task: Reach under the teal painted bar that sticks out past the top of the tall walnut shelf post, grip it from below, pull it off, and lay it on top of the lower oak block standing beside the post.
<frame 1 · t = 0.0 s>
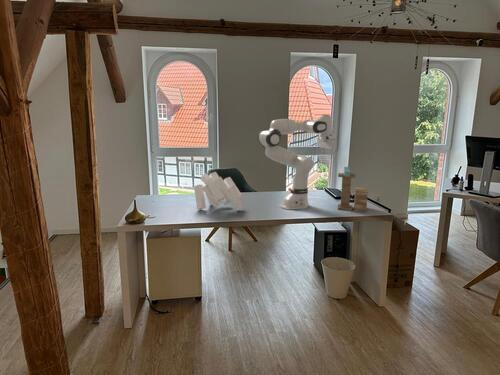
hand: (327, 154, 270), 39 cm above the table, tool pointing down, fingers open, 8 cm apart
walnut shelf post: (344, 208, 263), on the table
oak block: (359, 209, 261), on the table
pile of blocks: (218, 208, 264), on the table
teal bar: (346, 173, 259), point 26 cm above the table, touching walnut shelf post
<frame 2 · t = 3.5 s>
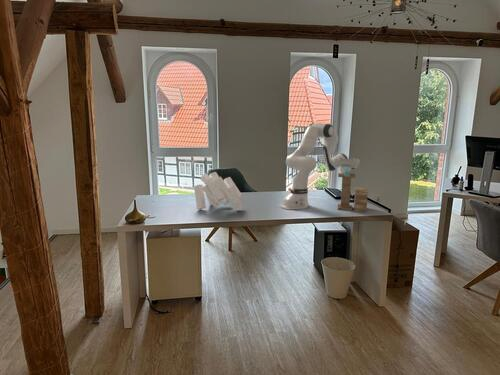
hand: (346, 158, 275), 35 cm above the table, tool pointing upward, fingers open, 8 cm apart
nothing on the table moved.
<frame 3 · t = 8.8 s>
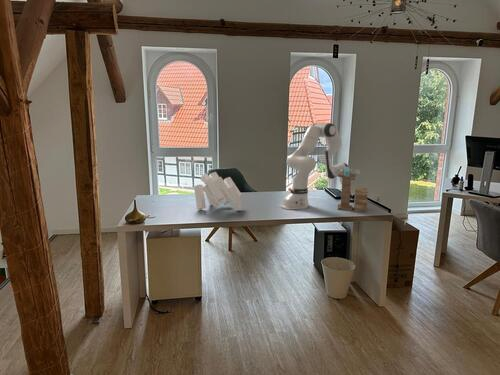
hand: (346, 169, 266), 28 cm above the table, tool pointing upward, fingers closed on teal bar, 3 cm apart
teal bar: (346, 173, 259), point 26 cm above the table, touching gripper, walnut shelf post
everything else where it was.
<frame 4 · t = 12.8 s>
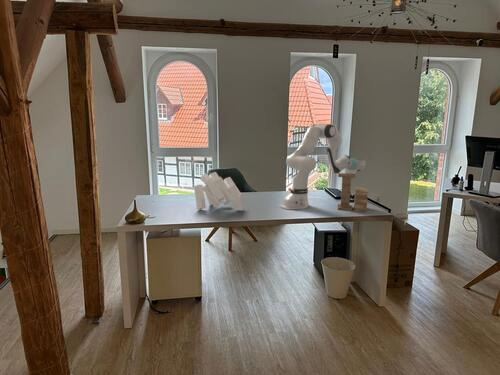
hand: (352, 159, 272), 34 cm above the table, tool pointing upward, fingers closed on teal bar, 3 cm apart
teal bar: (353, 164, 265), point 32 cm above the table, touching gripper
everything else where it was.
when the fingers open (19 cm above the table, at t = 17.3 s): teal bar drops 2 cm, resting on oak block.
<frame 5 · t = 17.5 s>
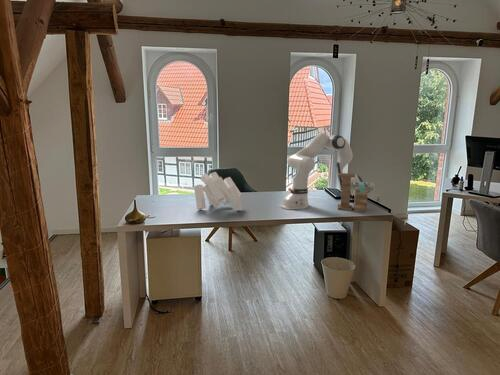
hand: (361, 182, 263), 19 cm above the table, tool pointing upward, fingers open, 6 cm apart
teal bar: (361, 189, 258), point 15 cm above the table, touching oak block
everything else where it was.
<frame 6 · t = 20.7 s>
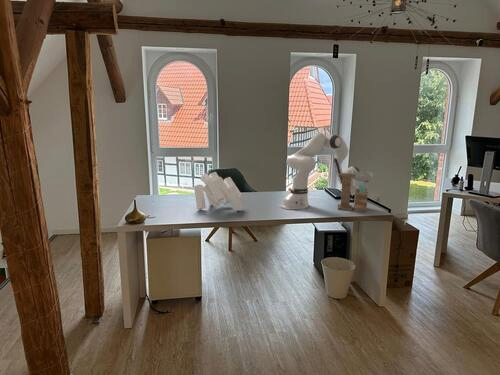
hand: (360, 171, 273), 25 cm above the table, tool pointing upward, fingers open, 8 cm apart
nothing on the table moved.
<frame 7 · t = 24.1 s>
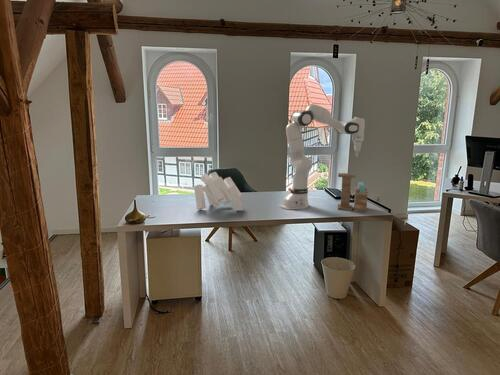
hand: (356, 156, 273), 37 cm above the table, tool pointing down, fingers open, 8 cm apart
nothing on the table moved.
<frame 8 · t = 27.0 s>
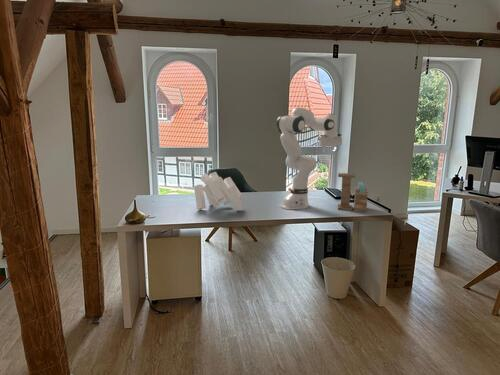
hand: (329, 151, 282), 39 cm above the table, tool pointing down, fingers open, 8 cm apart
nothing on the table moved.
at the end: teal bar inside the target area on the oak block (0.1 cm from its centre), point 15.0 cm above the oak block's base; teal bar tilted 0°; the gripper is holding nothing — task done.
